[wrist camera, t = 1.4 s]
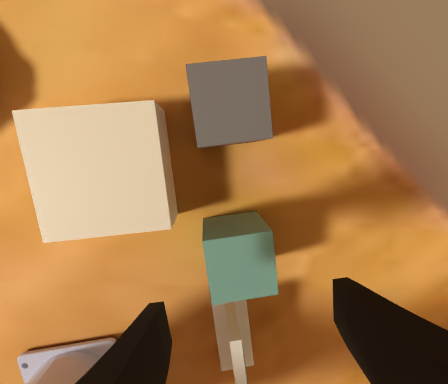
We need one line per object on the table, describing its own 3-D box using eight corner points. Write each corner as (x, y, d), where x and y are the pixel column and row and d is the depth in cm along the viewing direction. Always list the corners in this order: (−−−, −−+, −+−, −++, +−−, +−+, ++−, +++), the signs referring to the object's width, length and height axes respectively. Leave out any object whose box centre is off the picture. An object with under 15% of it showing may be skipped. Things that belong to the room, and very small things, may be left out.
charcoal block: (254, 141, 18) (273, 138, 13) (199, 148, 18) (197, 147, 13) (249, 82, 18) (266, 55, 13) (190, 89, 17) (185, 64, 12)
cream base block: (178, 213, 19) (171, 228, 15) (77, 223, 19) (43, 243, 15) (165, 111, 18) (154, 100, 14) (56, 119, 17) (11, 110, 13)
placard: (252, 359, 22) (266, 420, 17) (221, 365, 22) (225, 428, 17) (244, 292, 20) (257, 336, 16) (211, 297, 20) (212, 344, 15)
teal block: (260, 259, 20) (278, 294, 15) (210, 267, 20) (211, 305, 15) (255, 210, 19) (272, 230, 14) (203, 218, 19) (202, 241, 14)
